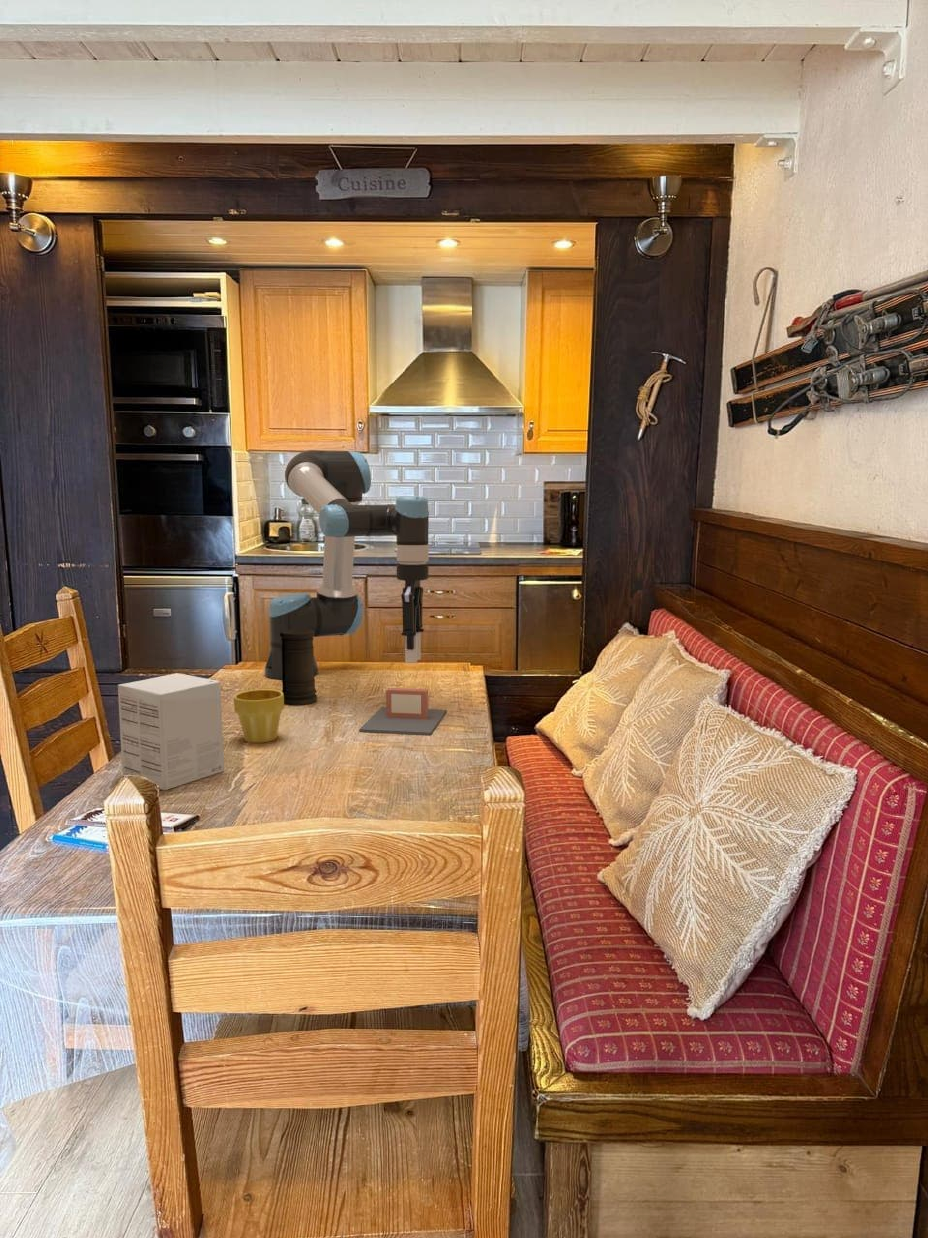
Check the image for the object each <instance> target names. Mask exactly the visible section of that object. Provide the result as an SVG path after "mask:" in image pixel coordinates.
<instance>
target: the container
mask: <svg viewBox="0 0 928 1238" xmlns="http://www.w3.org/2000/svg"><path fill="white" fill-rule="evenodd" d="M280 636H281V637H282V639H281V640H282V679H281V685H282V689H281V692H283V694H284V705H287V706H305V705H311V704H313V703H315V702H317V700H318V695H317V694H316V693H317V689H316V679H315V676H314V657H315V654H314V648H315V647H314V638H315V637H313V636H314V631H313V630H309V629H291V630H284V631H281V633H280Z"/></svg>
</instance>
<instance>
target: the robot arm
mask: <svg viewBox="0 0 928 1238" xmlns="http://www.w3.org/2000/svg"><path fill="white" fill-rule="evenodd" d="M284 480H285V483H286V485H287V487H288V489H289V490H290V491H291V492H292V493H293V494H294V495H296V496H297V497H300V498H303V499H304V500H305V502H307V503H308V505H309V506H310V507H311V508H312V509H313V510H314V511H315V512H316V513H317V514H318V525H319V528H320V532H321V533H322V534H323V536H324V541H323V545H324V546H323V565H322V584H321V585H320V586H319V587H318V588H317V589H316V596H315V597H313V596H312V597H311V594H310V593H308V592H293V593H288V594H287V593H286V594H282V595H278V596H275V597H274V598H272V599H271V600H270V602H269V609H268V610H269V611H268V617H269V639H270V641H269V643H270V648H269V652H268V657H267V659H266V663H265V666H264V675H265V677H266V678H268V679H275V680H282V640H281V639H282V637H281V636H280V633H281V631H284V630H291V629H309V630H313V631H314V636H313V638H315V637H316V638H318V637H319V638H320V637H330V636H331V637H332V636H333V637H334V636H340V637H341V636H344V635H351V634H355V633H356V632H357V631H358V630H359V628H360V626H361V624H362V620H363V619H364V618H363V617H364V616H363V615H364V608H363V600H362V598H361V597H360V596H359V595H358V593H357V592H358V591H357V590H356V589H355V588H354V587H353V575H354V574H353V571H354V558H355V540H356V537H396V548H394V550H393V551H394V553H396V561H397V562H398V563H397V564H396V579H397V580H399V581H404V587H403V588H402V593H401V594H400V596H401V602H402V603H401V604H402V606H401V608H402V632H401V636H404V657H405V658H404V661H405V664H406V663H408V664H410V663H411V664H417V663H418V660H419V661H420V660H421V653H422V651H421V648H422V647H421V640H422V639H421V637H422V636H421V633H424V631H425V628H423V598H424V597H423V596H424V587H422V586H421V581H425V580H428V579H429V577H430V576H429V567H430V566H429V564H428V563H427V562H429V560H430V558H429V557H430V553H429V552H430V546H429V526H430V524H429V520H430V519H429V516H430V510H429V501H428V499H427V498H426V497H425V496H398V498H397V499H396V502H395V504H393V503H391V504H388V503H387V504H360V503H362V502H363V495H365V494H367V493H369V491H370V488H371V486H372V474H371V468H370V465H369V461H368V460H367V458H366V456H365V455H363V453H362V452H361V453H360V452H359V451H350V450H319V449H318V450H317V449H311V450H310V449H309V450H305V451H302V452H299V453H298V454H296V455H294V456H293V457H292V458H291V459H290V460H289V462H288V463H287V465H286V467H285V471H284ZM318 667H319V665H318V663H317V659H316V657H315V656H314V677H315V676H317V675H318V674H319V668H318Z"/></svg>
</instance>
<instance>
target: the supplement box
mask: <svg viewBox="0 0 928 1238" xmlns="http://www.w3.org/2000/svg"><path fill="white" fill-rule="evenodd" d="M221 687H222V686H221V681H218V680H215V679H210V678H203V677H200V676H194V675H189V674H185V673H184V674H183V673H177V672H175V673H171V674H167V675H162V676H156V677H151V678H147V679H142V680H141V679H140V680H136V681H131V682H126V683H120V684H117V694H118V696H117V697H118V714H119V715H118V716H119V734H120V735H119V736H120V738H119V739H120V752H121V773H122V774H121V775H122V777H123V776H124V775H129V774H130V775H139V776H143V777H146V778H148V779H149V780H151V781H153V782H155V783H157V785H158V786H159V788H158V789H159V790H162V791H167V790H170V789H174V788H176V787H179V786H183V785H186V784H189V783H193V782H195V781H198V780H201V779H204V778H207V777H211V776H213V775H216V774H220V773H223V772H225V762H224V760H225V759H224V758H225V757H224V738H223V736H224V735H223V717H222V716H223V715H222V713H223V712H222V690H221Z"/></svg>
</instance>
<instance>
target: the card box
mask: <svg viewBox="0 0 928 1238" xmlns="http://www.w3.org/2000/svg"><path fill="white" fill-rule="evenodd" d="M385 707H386V717H391V718H412V719H427V718H428V709H429V689H426V688H424V689H422V688H421V689H420V688H401V687H399V688H398V687H388V688H387V689H386V690H385Z"/></svg>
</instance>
